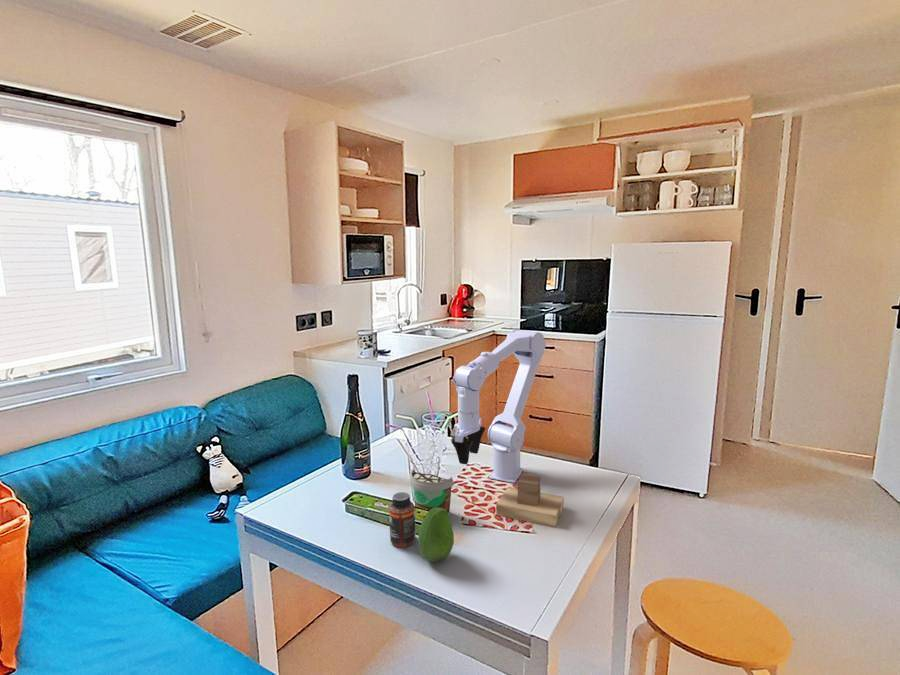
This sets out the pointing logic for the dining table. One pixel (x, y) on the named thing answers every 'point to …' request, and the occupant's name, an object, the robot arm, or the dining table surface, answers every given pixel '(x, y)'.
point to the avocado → (436, 535)
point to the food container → (431, 491)
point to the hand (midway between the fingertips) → (468, 458)
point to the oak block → (531, 508)
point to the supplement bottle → (402, 520)
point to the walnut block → (528, 489)
